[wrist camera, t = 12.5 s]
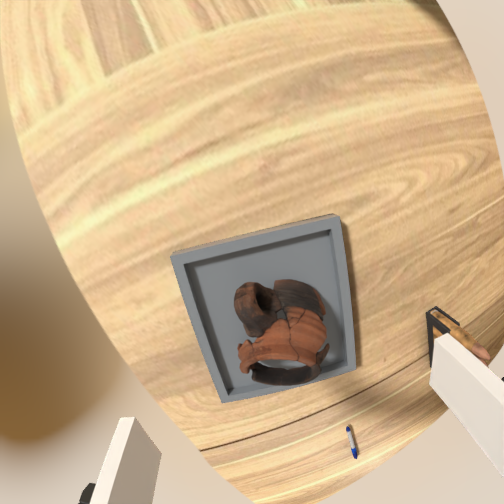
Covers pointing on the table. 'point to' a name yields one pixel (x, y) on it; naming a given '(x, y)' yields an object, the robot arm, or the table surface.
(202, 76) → the table surface
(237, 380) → the tray
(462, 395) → the robot arm
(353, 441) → the ballpoint pen
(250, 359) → the broken brown clay pot
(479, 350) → the ammunition clip
